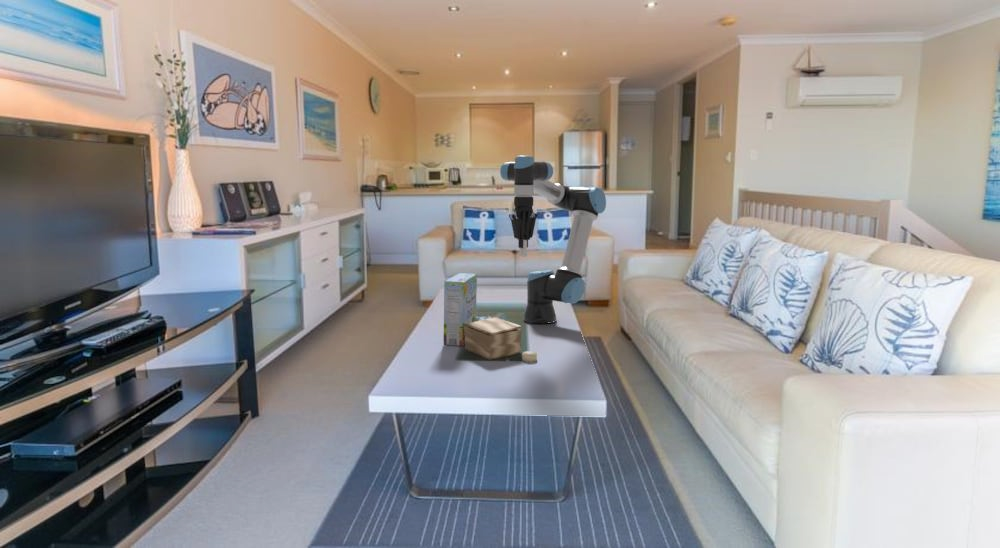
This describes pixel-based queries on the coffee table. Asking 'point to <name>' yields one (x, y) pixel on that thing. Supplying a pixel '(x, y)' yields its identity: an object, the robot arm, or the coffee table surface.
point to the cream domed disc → (529, 356)
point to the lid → (493, 326)
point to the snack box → (459, 307)
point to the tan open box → (493, 343)
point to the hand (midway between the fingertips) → (523, 256)
